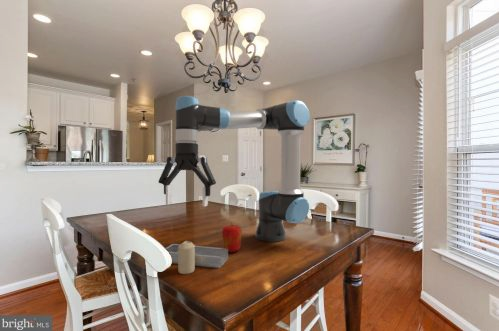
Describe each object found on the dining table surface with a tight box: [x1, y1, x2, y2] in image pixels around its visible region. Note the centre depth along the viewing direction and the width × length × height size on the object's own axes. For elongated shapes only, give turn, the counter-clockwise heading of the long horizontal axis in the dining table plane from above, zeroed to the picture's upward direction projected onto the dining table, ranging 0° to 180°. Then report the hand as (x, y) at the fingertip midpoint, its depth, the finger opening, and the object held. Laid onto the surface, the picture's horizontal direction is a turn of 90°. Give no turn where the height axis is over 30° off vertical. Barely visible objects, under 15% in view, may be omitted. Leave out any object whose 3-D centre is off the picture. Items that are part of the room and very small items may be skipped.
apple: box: [221, 223, 243, 253], centre depth 108 cm, size 9×8×12 cm
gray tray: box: [164, 243, 229, 269], centre depth 98 cm, size 24×10×4 cm, turn 77°
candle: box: [177, 240, 196, 275], centre depth 88 cm, size 6×6×10 cm
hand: (186, 205), depth 87 cm, fingers open, 13 cm apart
